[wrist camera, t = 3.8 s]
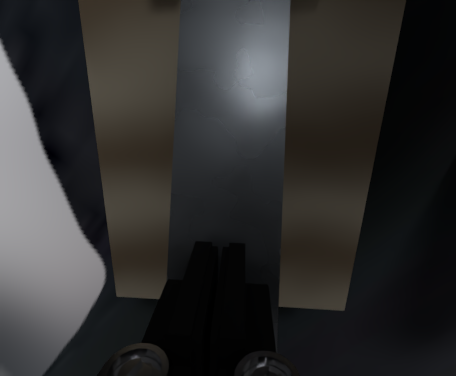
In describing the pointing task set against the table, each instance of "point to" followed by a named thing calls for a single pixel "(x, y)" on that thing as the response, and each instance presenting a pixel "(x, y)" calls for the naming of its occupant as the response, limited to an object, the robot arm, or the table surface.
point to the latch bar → (230, 135)
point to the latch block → (294, 136)
